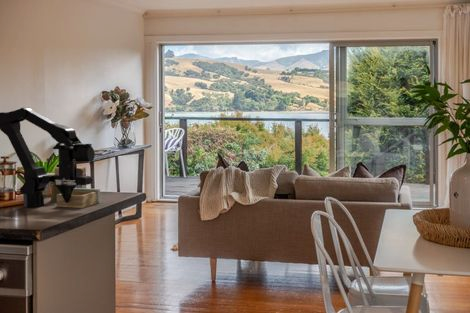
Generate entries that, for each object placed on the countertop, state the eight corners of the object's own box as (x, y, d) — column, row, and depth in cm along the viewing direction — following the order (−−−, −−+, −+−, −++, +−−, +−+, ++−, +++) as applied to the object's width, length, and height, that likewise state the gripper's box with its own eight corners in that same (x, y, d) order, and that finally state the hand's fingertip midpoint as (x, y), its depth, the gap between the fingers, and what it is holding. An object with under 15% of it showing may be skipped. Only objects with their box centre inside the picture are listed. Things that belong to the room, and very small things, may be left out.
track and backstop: (74, 213, 208) (74, 196, 207) (45, 211, 211) (45, 194, 211) (100, 204, 226) (100, 188, 226) (73, 203, 230) (73, 187, 229)
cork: (53, 204, 227) (52, 177, 226) (48, 202, 232) (47, 175, 231) (68, 202, 231) (67, 176, 230) (63, 200, 235) (62, 174, 234)
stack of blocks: (35, 195, 252) (34, 167, 251) (40, 193, 258) (39, 166, 257) (82, 195, 250) (81, 167, 249) (86, 193, 257) (86, 166, 256)
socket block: (82, 207, 214) (82, 196, 214) (56, 206, 217) (56, 194, 217) (97, 203, 225) (96, 191, 224) (72, 201, 228) (72, 190, 227)
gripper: (99, 160, 218) (100, 200, 219) (57, 159, 223) (57, 198, 224) (84, 162, 207) (84, 205, 209) (39, 161, 212) (40, 202, 214)
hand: (67, 202), depth 214 cm, fingers closed
